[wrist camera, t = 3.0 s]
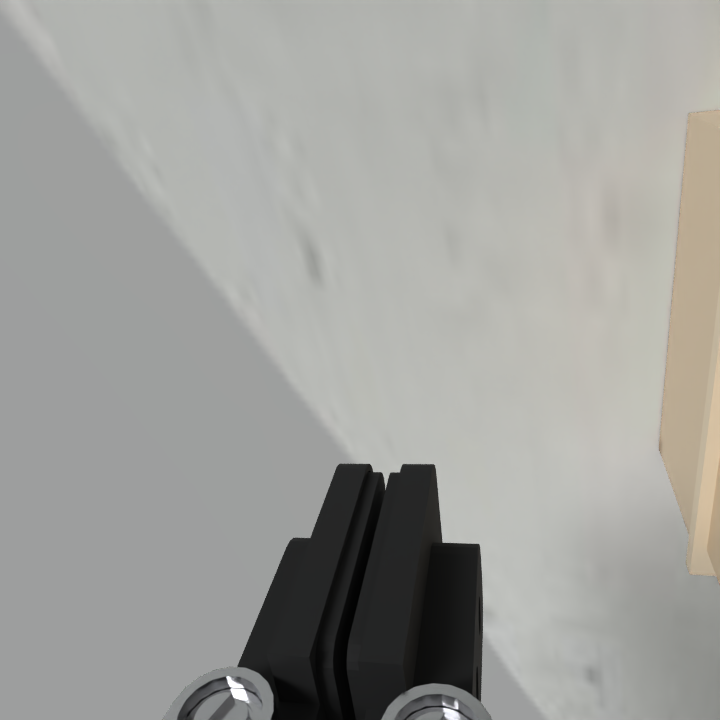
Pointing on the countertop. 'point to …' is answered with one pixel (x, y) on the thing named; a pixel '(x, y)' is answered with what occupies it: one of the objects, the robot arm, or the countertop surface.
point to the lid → (708, 477)
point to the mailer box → (692, 308)
